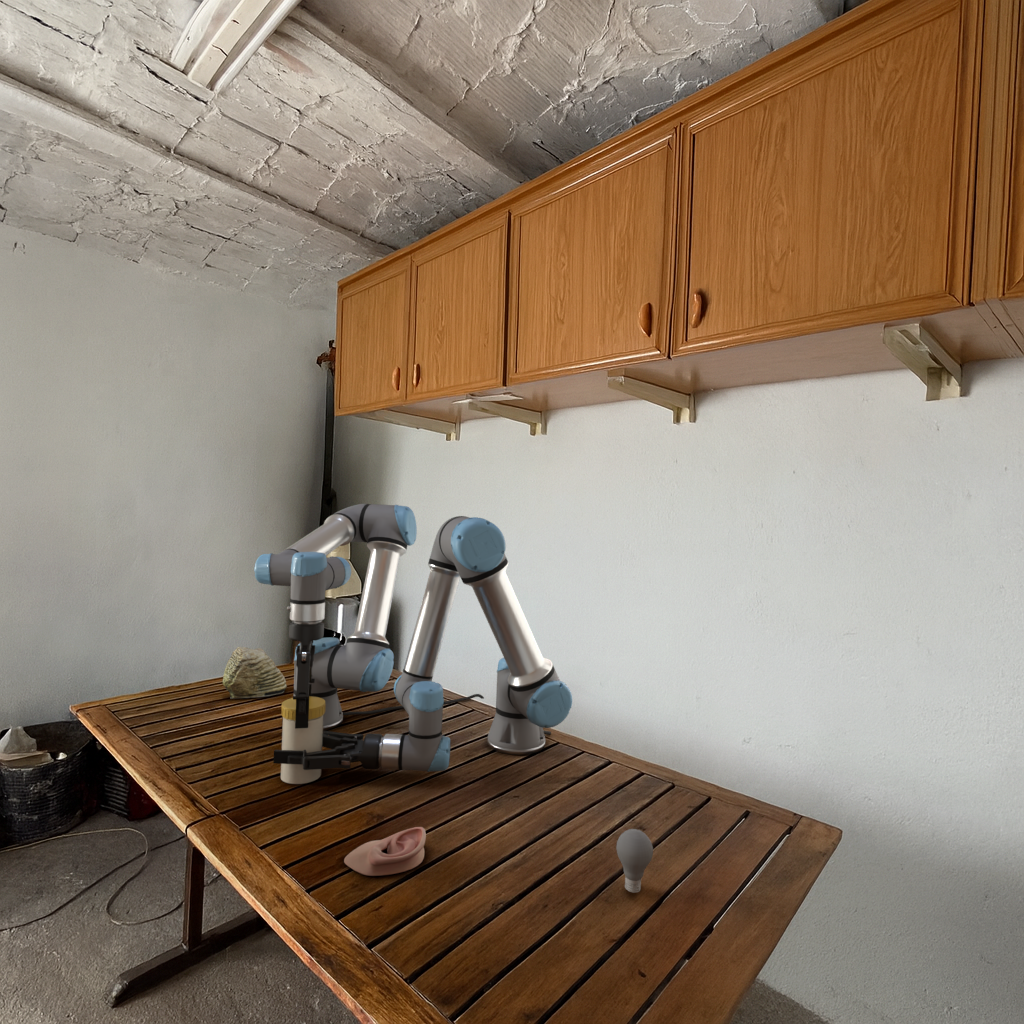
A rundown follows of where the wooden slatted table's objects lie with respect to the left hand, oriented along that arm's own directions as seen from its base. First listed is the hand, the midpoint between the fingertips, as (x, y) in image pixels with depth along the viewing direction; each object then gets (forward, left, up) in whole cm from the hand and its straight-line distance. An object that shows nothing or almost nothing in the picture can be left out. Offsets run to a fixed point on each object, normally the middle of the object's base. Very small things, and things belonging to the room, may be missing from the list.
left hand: (303, 719), depth 143 cm
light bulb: (-13, +77, -13) cm, 79 cm away
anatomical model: (+9, +40, -13) cm, 43 cm away
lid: (0, 0, +4) cm, 4 cm away
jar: (0, 0, -13) cm, 13 cm away
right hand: (+3, -3, -7) cm, 8 cm away
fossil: (-22, -60, -13) cm, 65 cm away
